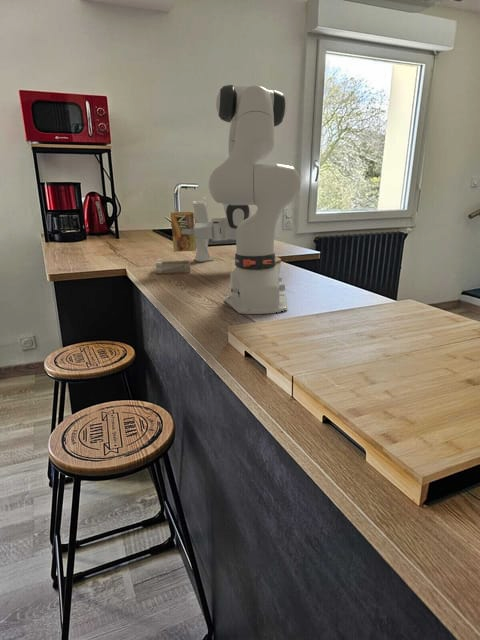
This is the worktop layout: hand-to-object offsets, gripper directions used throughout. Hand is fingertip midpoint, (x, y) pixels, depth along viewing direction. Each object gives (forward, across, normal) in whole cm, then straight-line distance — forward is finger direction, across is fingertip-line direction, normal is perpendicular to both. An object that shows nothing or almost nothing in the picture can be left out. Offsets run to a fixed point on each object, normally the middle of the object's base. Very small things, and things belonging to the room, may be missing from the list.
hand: (181, 230), depth 167 cm
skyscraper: (-9, -21, +16) cm, 28 cm away
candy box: (-1, 0, +8) cm, 8 cm away
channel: (+4, 0, +16) cm, 17 cm away
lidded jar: (-30, +23, +16) cm, 41 cm away
